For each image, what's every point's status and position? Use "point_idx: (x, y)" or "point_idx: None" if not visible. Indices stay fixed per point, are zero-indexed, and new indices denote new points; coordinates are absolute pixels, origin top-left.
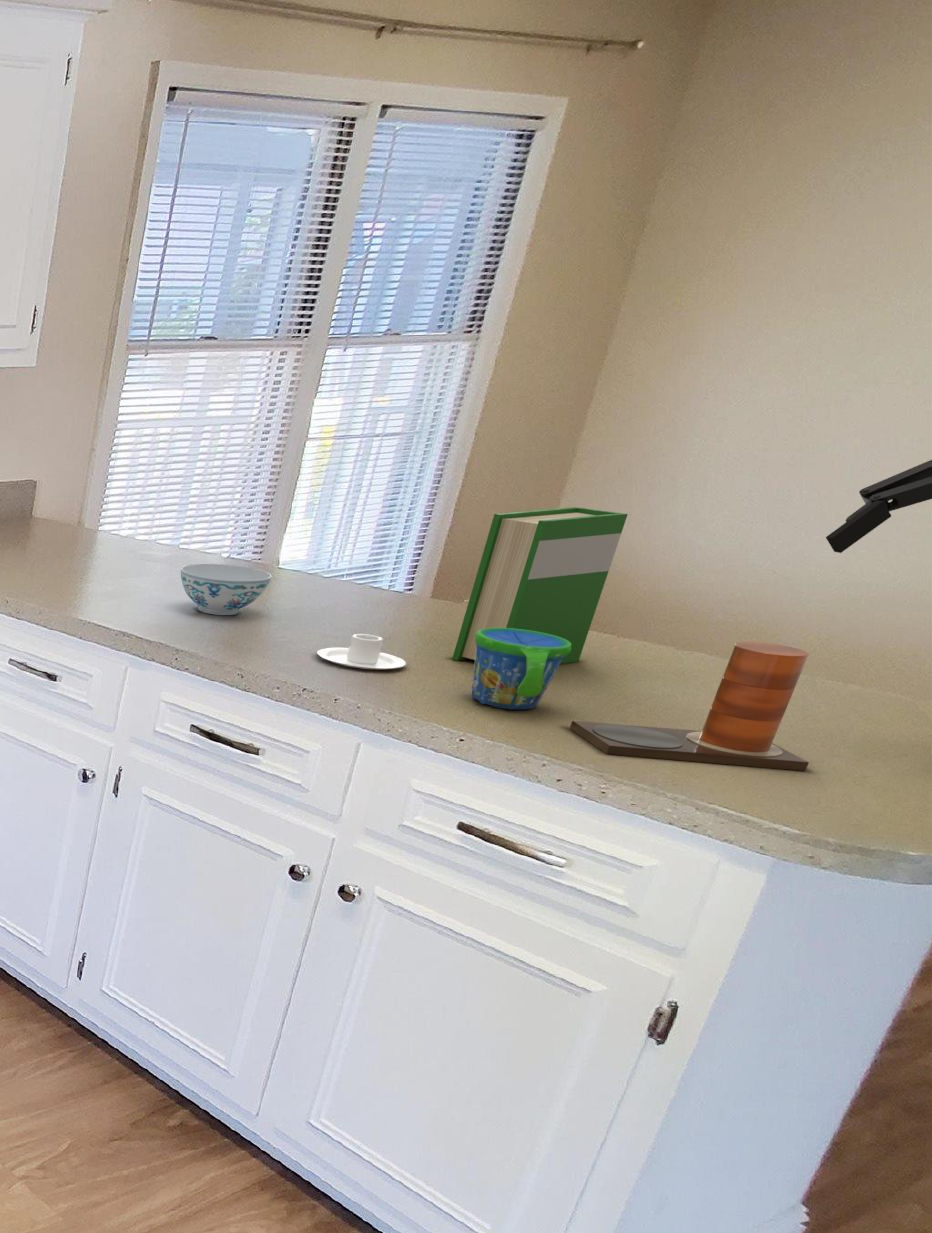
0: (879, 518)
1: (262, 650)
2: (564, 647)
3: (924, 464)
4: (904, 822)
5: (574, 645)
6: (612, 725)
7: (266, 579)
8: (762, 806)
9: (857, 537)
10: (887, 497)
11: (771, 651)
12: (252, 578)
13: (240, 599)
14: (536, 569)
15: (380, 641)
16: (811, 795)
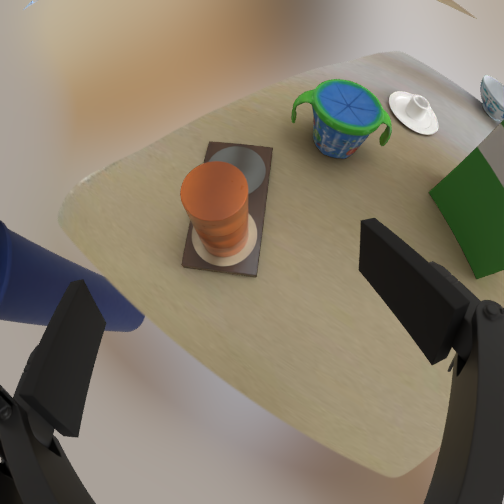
0: (420, 327)
1: (414, 80)
2: (322, 112)
3: None
4: (89, 256)
5: (481, 264)
6: (262, 167)
7: (500, 104)
8: (113, 185)
9: (383, 290)
10: (474, 329)
11: (199, 180)
12: None
13: (485, 100)
14: (488, 148)
15: (415, 104)
16: (131, 231)
